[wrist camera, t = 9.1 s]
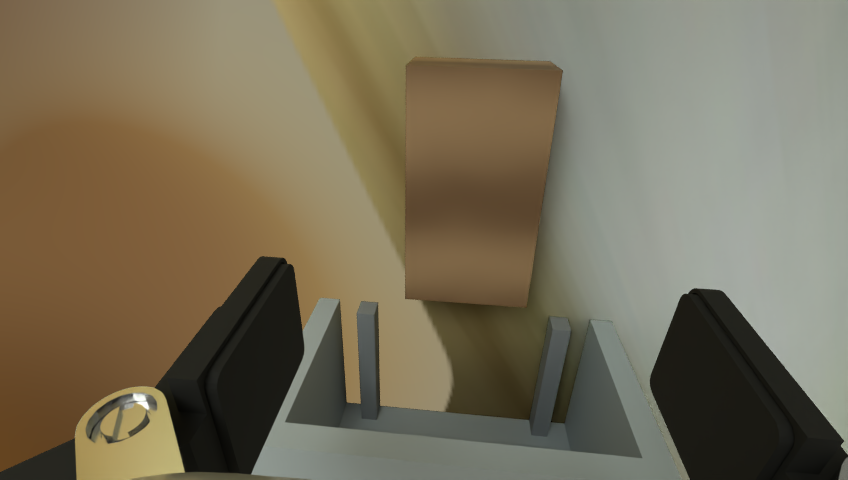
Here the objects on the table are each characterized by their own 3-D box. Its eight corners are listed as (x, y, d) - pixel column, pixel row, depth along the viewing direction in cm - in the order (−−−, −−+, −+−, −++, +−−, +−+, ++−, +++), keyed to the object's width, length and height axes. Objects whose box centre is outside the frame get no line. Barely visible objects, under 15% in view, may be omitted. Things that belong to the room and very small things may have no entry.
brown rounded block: (415, 56, 21) (406, 65, 18) (549, 60, 20) (562, 70, 17) (413, 263, 26) (405, 298, 23) (519, 270, 25) (526, 307, 22)
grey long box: (320, 297, 27) (244, 443, 18) (611, 321, 26) (686, 489, 17) (330, 413, 32) (273, 576, 23) (579, 437, 30) (625, 620, 21)
